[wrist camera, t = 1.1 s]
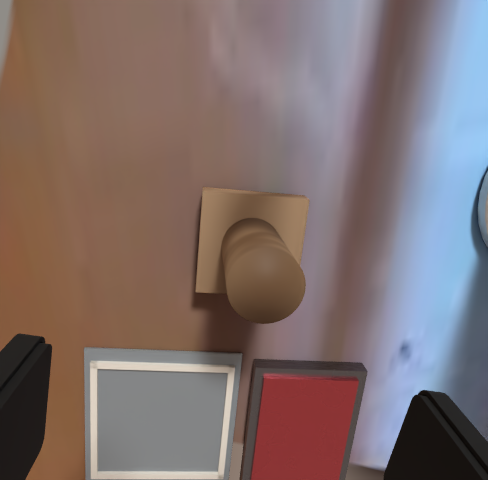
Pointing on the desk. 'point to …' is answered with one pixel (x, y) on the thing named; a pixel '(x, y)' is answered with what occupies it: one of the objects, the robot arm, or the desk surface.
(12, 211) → the desk surface
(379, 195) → the desk surface
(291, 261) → the stamp
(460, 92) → the desk surface
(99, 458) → the board
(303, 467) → the ink pad
